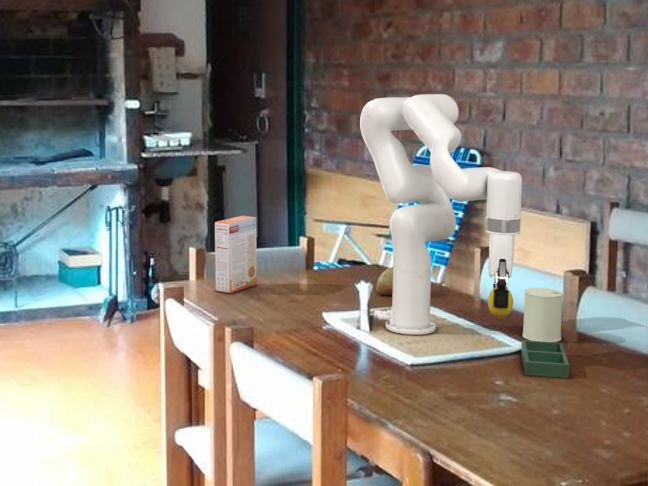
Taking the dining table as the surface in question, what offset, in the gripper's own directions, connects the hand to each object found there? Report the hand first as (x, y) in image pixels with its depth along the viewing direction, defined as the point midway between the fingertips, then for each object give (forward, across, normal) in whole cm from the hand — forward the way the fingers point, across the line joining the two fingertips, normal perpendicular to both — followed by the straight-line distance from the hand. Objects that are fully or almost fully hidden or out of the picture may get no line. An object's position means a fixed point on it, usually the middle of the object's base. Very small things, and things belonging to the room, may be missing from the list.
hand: (500, 303), depth 231 cm
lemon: (+4, 0, 0) cm, 4 cm away
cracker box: (+13, -53, -74) cm, 92 cm away
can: (+13, -21, +11) cm, 27 cm away
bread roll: (+13, -59, -26) cm, 66 cm away
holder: (+13, +2, +10) cm, 16 cm away
